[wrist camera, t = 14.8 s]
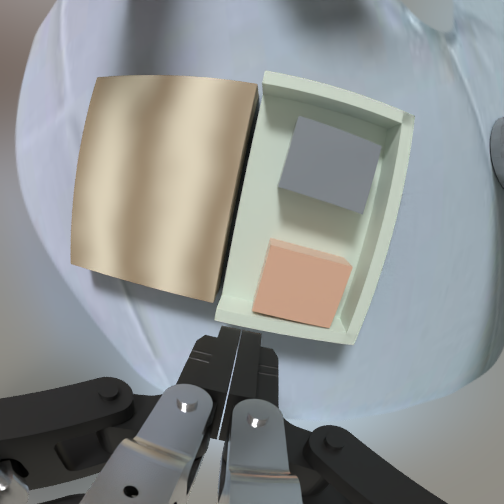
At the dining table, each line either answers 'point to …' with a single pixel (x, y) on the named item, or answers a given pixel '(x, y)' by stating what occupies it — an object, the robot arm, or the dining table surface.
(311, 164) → the slate tile
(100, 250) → the plate
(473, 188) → the dining table surface
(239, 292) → the box
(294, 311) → the terracotta tile
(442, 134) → the dining table surface
